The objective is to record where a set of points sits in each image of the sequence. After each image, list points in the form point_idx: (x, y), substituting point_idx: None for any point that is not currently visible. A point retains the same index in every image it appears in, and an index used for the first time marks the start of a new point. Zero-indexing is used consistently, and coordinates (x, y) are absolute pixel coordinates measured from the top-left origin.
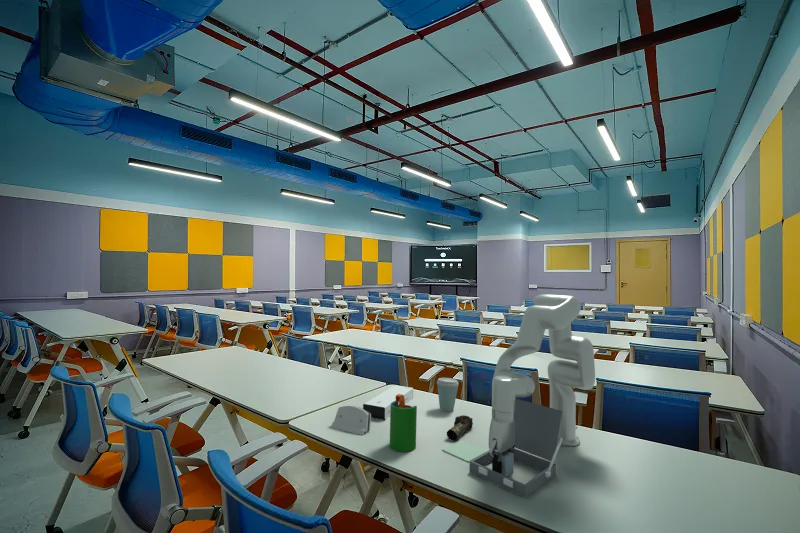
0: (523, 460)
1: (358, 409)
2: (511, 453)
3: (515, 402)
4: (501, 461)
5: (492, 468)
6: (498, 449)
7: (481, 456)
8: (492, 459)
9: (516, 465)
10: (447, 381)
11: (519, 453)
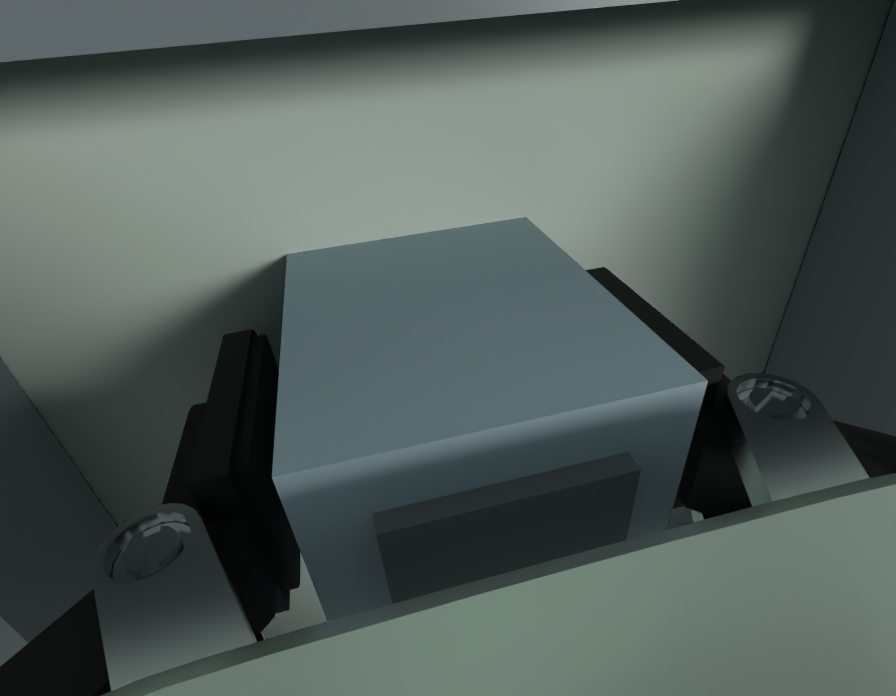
0: (803, 348)
1: None
2: None
3: None
4: (282, 608)
5: (220, 352)
6: (596, 414)
7: (106, 44)
8: (194, 463)
9: (680, 326)
10: None
11: (894, 335)
